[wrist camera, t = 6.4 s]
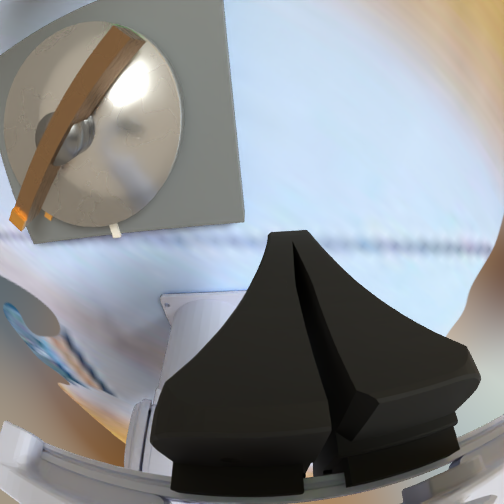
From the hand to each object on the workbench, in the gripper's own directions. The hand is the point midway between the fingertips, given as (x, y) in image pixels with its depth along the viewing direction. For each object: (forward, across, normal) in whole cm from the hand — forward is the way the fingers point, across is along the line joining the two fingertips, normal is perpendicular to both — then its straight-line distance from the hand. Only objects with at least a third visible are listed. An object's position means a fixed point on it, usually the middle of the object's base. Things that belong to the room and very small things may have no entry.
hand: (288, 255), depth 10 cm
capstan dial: (+8, +11, -5) cm, 14 cm away
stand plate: (+9, +11, -5) cm, 15 cm away
